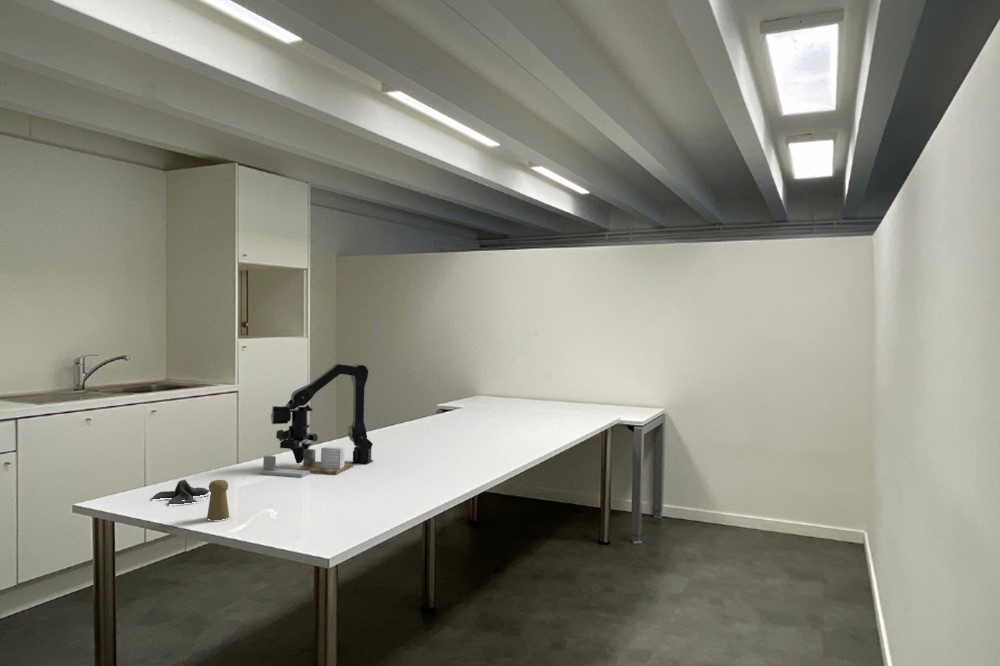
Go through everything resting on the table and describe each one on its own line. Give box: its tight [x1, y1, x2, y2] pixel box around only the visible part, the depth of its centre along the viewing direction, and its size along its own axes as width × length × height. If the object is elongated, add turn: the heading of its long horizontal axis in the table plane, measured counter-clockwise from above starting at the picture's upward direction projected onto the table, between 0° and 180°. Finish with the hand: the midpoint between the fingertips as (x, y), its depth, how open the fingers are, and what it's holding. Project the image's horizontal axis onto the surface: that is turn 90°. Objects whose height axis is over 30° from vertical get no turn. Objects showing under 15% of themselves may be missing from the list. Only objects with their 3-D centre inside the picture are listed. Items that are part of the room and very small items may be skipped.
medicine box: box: [320, 446, 346, 470], centre depth 260 cm, size 8×4×9 cm, turn 81°
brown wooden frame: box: [294, 448, 354, 476], centre depth 261 cm, size 17×14×7 cm
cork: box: [206, 479, 230, 520], centre depth 197 cm, size 6×6×11 cm
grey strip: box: [259, 455, 311, 478], centre depth 252 cm, size 17×6×6 cm, turn 77°
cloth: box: [151, 479, 209, 505], centre depth 220 cm, size 22×19×6 cm
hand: (299, 462), depth 264 cm, fingers closed
